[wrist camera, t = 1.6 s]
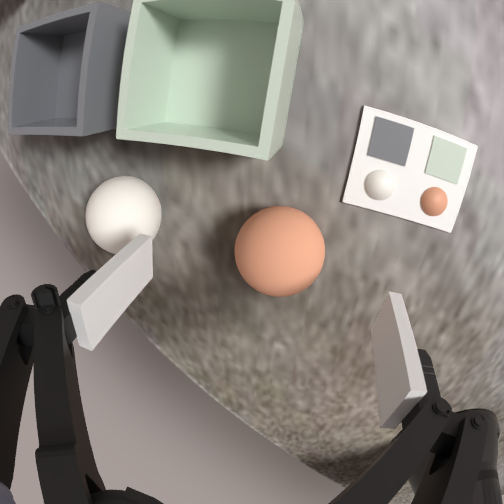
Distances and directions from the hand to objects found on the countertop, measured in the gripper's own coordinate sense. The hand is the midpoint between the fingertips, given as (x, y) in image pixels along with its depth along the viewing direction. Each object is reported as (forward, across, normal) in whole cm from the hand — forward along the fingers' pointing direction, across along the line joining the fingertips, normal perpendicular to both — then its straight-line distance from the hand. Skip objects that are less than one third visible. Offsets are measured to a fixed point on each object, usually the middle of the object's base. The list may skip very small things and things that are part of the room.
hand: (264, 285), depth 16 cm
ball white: (+5, +12, 0) cm, 13 cm away
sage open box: (+8, +6, -10) cm, 14 cm away
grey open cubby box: (+8, +18, -10) cm, 22 cm away
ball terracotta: (+5, 0, 0) cm, 5 cm away
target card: (+8, -8, -6) cm, 13 cm away
